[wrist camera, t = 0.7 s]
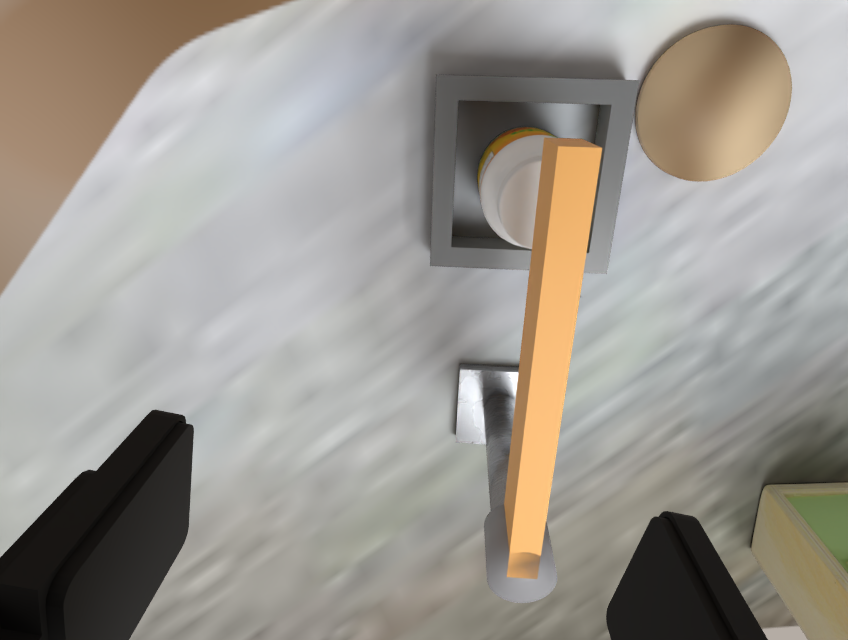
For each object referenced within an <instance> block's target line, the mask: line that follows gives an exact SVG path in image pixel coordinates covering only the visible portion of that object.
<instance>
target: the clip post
mask: <svg viewBox="0 0 848 640" xmlns="http://www.w3.org/2000/svg"><path fill="white" fill-rule="evenodd" d="M518 372H519V367H509V366H490V365H471V364H460V374H459V390H458V407H457V424H456V442H457V443H474V444H486V452H487V466H488V479H489V493H490V507H491V511H492V510H493V509H494V508H496V507H497V506H499V505H502V504H504V500H505V491H506V482H507V473H508V464H509V454H510V445H511V436H512V427H513V418H514V409H515V399H516V390H517V381H518Z"/></svg>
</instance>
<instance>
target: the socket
mask: <svg viewBox="0 0 848 640" xmlns="http://www.w3.org/2000/svg"><path fill="white" fill-rule="evenodd" d="M638 86H639V80H609V79H573V78H538V77H503V76H467V75H436V102H435V132H434V163H433V193H432V224H431V255H430V266H444V267H466V268H489V269H511V270H530V262H531V253H532V249H529V248H525V247H520V246H517V245H514V244H511V243H509V242H507V241H506V240H504V239H502V238H478V237H454V236H452V222H453V201H454V180H455V159H456V138H457V118H458V100H468V101H501V102H534V103H567V104H600V110H599V117H598V124H597V131H596V138H595V145H597V146H599V147H602V153H601V160H600V166H599V173H598V179H597V186H596V193H595V199H594V206H593V213H592V219H591V226H590V233H589V239H588V246H587V252H586V259H585V266H584V272H583V273H602V274H607V270H608V264H609V258H610V252H611V246H612V240H613V234H614V228H615V222H616V216H617V210H618V204H619V198H620V193H621V187H622V181H623V175H624V169H625V163H626V157H627V151H628V145H629V139H630V133H631V127H632V121H633V116H634V110H635V104H636V98H637V92H638Z"/></svg>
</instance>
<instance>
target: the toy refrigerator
mask: <svg viewBox="0 0 848 640" xmlns="http://www.w3.org/2000/svg"><path fill="white" fill-rule="evenodd" d="M751 551H752V554H753V555H754V557H755V559H756V560H757V562H758V563H759V565H760V566H761V568H762V569H763V571H764V573H765V574H766V576H767V577H768V579H769V580H770V582H771V583H772V585H773V586H774V588H775V590H776V591H777V593H778V594H779V596H780V597H781V599H782V601H783V602H784V604H785V605H786V607H787V608H788V610H789V611H790V613H791V614H792V616H793V617H794V619H795V620H796V622H797V624H798V625H799V627H800V628H801V630H802V631H803V633H804V634H805V636H806V638H807V639H808V640H848V482H843V483H814V484H779V485H766V486H765V487H764V489H763V491H762V495H761V499H760V504H759V509H758V514H757V519H756V525H755V530H754V535H753V541H752V547H751Z"/></svg>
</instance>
